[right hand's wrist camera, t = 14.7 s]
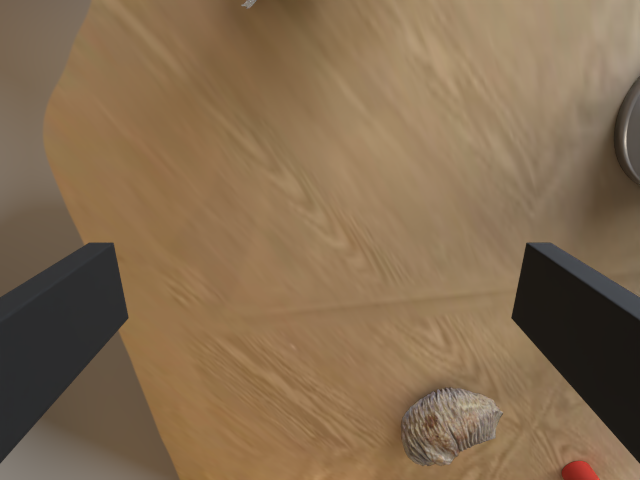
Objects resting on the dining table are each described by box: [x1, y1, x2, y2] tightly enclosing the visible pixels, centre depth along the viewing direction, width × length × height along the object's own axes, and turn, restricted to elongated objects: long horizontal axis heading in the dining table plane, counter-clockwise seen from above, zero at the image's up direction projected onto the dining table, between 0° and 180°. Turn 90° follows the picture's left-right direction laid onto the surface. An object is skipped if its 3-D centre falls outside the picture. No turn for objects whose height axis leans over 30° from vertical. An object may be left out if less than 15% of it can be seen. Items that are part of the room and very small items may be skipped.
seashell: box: [401, 387, 503, 466], centre depth 49 cm, size 14×10×10 cm
